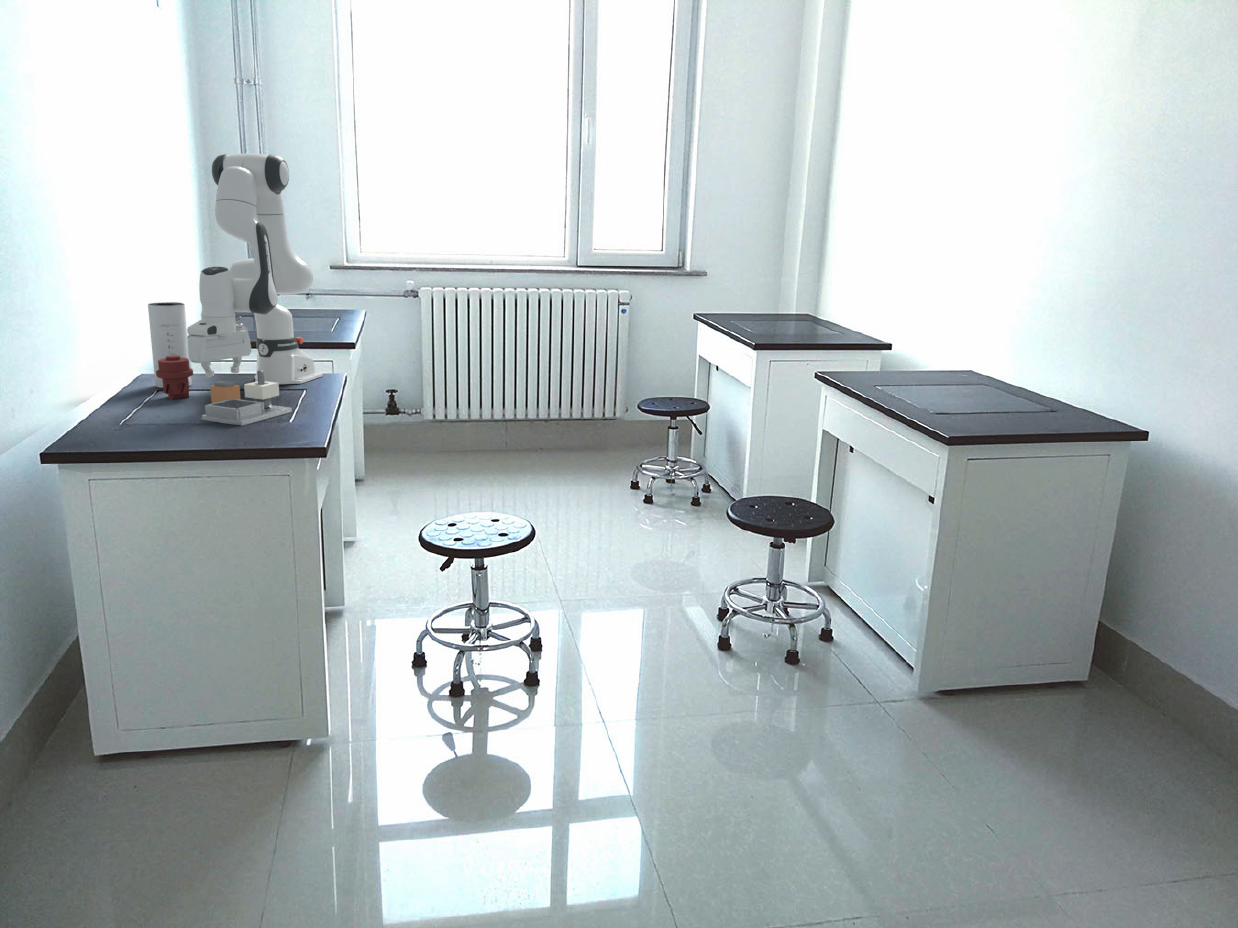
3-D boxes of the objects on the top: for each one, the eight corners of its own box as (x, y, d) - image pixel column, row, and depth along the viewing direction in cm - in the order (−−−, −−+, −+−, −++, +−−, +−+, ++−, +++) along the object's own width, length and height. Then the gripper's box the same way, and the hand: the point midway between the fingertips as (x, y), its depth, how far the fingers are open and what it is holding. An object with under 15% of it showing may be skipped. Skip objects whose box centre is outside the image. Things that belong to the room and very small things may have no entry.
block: (225, 403, 282) (223, 379, 280) (241, 405, 279) (239, 381, 278) (211, 406, 277) (209, 382, 275) (228, 409, 275) (226, 384, 273)
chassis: (253, 406, 278) (249, 366, 275) (291, 411, 273) (289, 371, 270) (202, 419, 261) (198, 377, 258) (242, 425, 256) (238, 382, 253)
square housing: (261, 393, 275) (260, 380, 274) (279, 395, 273) (278, 382, 272) (245, 397, 270) (244, 384, 269) (263, 399, 267) (262, 386, 266)
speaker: (194, 382, 310) (186, 300, 303) (190, 388, 300) (181, 304, 293) (158, 383, 307) (149, 300, 300) (152, 389, 297) (143, 304, 290)
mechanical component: (202, 395, 292) (181, 401, 282) (172, 393, 293) (151, 399, 284) (198, 354, 288) (177, 360, 279) (168, 352, 290) (146, 357, 281)
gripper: (237, 322, 282) (241, 369, 286) (182, 328, 264) (186, 379, 267) (254, 323, 280) (257, 371, 283) (199, 330, 262) (203, 381, 265)
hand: (222, 375), depth 275 cm, fingers open, 8 cm apart
